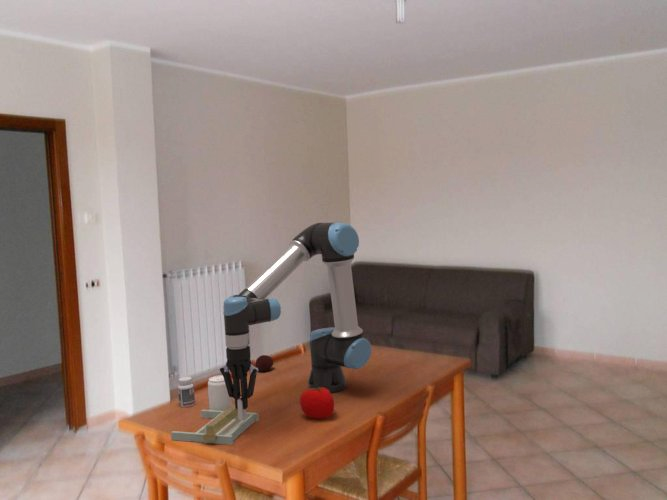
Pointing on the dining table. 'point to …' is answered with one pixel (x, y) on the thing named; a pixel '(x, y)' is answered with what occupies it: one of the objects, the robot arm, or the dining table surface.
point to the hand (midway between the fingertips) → (242, 418)
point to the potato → (264, 362)
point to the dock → (225, 434)
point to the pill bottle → (186, 392)
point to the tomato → (317, 403)
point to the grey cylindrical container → (218, 394)
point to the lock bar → (220, 423)
